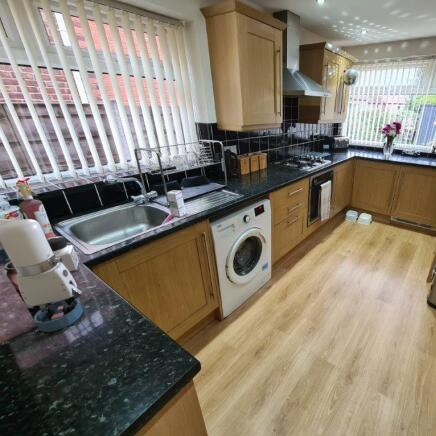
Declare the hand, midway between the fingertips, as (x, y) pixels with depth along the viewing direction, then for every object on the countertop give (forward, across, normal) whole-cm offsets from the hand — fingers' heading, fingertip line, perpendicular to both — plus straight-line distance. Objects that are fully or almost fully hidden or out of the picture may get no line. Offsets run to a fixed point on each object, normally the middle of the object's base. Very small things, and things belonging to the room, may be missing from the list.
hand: (63, 317), depth 72 cm
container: (+1, +10, -32) cm, 34 cm away
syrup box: (+1, -30, -75) cm, 81 cm away
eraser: (0, 0, 0) cm, 0 cm away
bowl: (+1, 0, 0) cm, 1 cm away
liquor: (+1, +28, -64) cm, 70 cm away
